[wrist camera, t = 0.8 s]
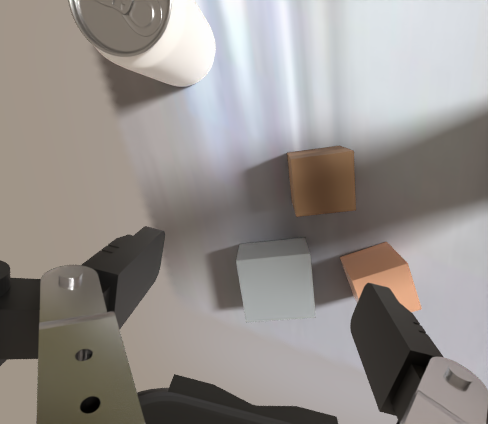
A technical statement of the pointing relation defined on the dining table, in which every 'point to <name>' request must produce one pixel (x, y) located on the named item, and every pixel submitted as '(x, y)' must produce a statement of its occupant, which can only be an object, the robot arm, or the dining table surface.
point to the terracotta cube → (381, 273)
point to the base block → (276, 280)
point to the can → (150, 36)
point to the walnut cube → (322, 180)
